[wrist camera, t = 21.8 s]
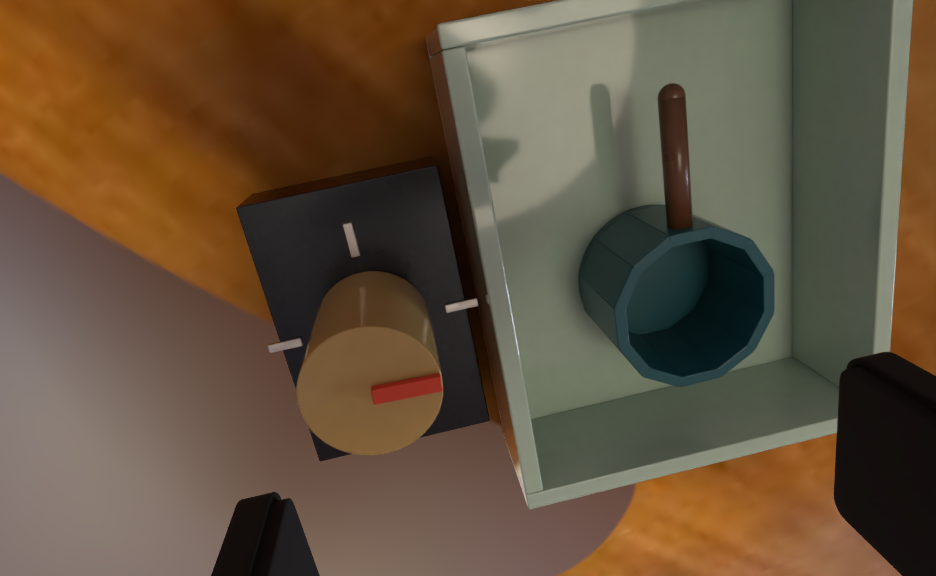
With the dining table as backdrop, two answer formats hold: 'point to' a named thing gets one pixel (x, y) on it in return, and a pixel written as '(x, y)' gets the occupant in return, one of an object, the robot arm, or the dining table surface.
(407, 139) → the dining table surface
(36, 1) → the dining table surface
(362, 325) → the tap knob
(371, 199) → the black dial base
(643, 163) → the pale green open box
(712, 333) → the pan
